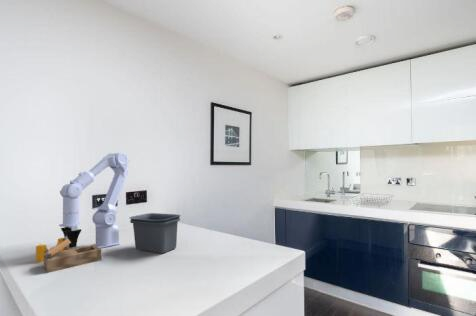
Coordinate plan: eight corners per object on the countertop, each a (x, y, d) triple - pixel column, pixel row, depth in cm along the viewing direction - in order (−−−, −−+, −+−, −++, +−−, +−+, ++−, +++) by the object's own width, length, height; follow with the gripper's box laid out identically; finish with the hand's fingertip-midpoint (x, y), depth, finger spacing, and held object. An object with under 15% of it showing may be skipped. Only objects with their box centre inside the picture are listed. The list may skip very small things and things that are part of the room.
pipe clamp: (58, 252, 114) (58, 237, 114) (66, 253, 113) (67, 237, 113) (32, 262, 102) (32, 245, 102) (41, 263, 101) (41, 246, 101)
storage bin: (125, 250, 113) (125, 217, 114) (153, 241, 127) (152, 211, 127) (162, 257, 103) (161, 220, 104) (187, 246, 117) (187, 213, 117)
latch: (48, 258, 93) (45, 255, 92) (46, 256, 96) (44, 253, 95) (71, 242, 98) (69, 240, 97) (69, 240, 101) (67, 238, 100)
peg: (75, 252, 112) (75, 233, 113) (77, 254, 109) (77, 235, 110) (64, 254, 109) (64, 235, 110) (66, 257, 107) (66, 237, 107)
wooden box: (94, 254, 109) (94, 240, 109) (101, 259, 102) (101, 245, 102) (43, 265, 97) (43, 250, 98) (47, 272, 90) (47, 256, 90)
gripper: (56, 212, 113) (56, 244, 112) (62, 215, 102) (62, 251, 101) (75, 210, 117) (75, 240, 117) (83, 213, 107) (83, 247, 106)
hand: (70, 245), depth 109 cm, fingers open, 7 cm apart
